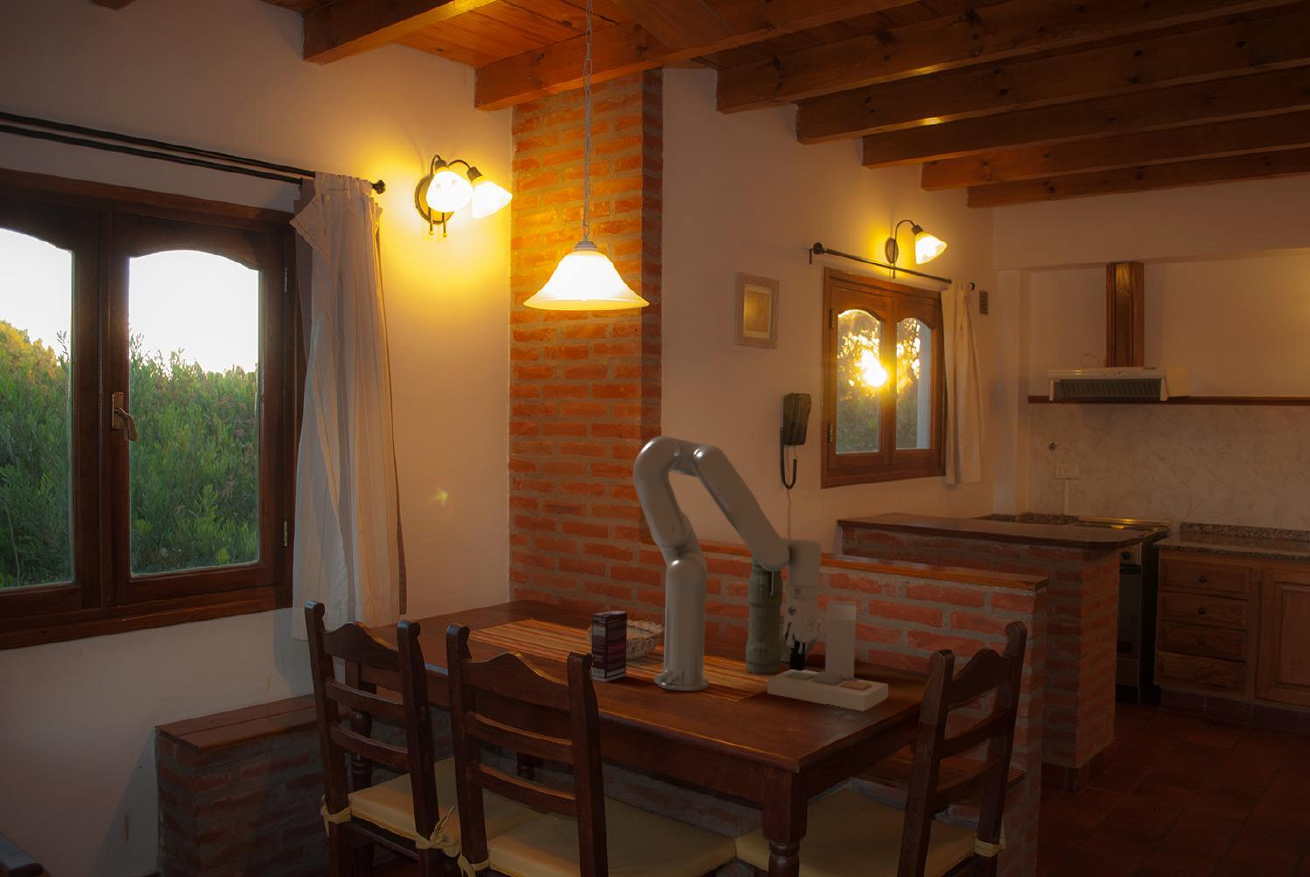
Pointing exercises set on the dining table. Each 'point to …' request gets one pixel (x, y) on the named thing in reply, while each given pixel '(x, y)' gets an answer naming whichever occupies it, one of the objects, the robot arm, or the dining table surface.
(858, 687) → the terracotta key
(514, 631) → the dining table surface
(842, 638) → the milk carton
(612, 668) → the supplement box
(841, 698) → the keypad
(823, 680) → the grey key
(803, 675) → the sage key
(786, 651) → the planter bowl
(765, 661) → the thermos
